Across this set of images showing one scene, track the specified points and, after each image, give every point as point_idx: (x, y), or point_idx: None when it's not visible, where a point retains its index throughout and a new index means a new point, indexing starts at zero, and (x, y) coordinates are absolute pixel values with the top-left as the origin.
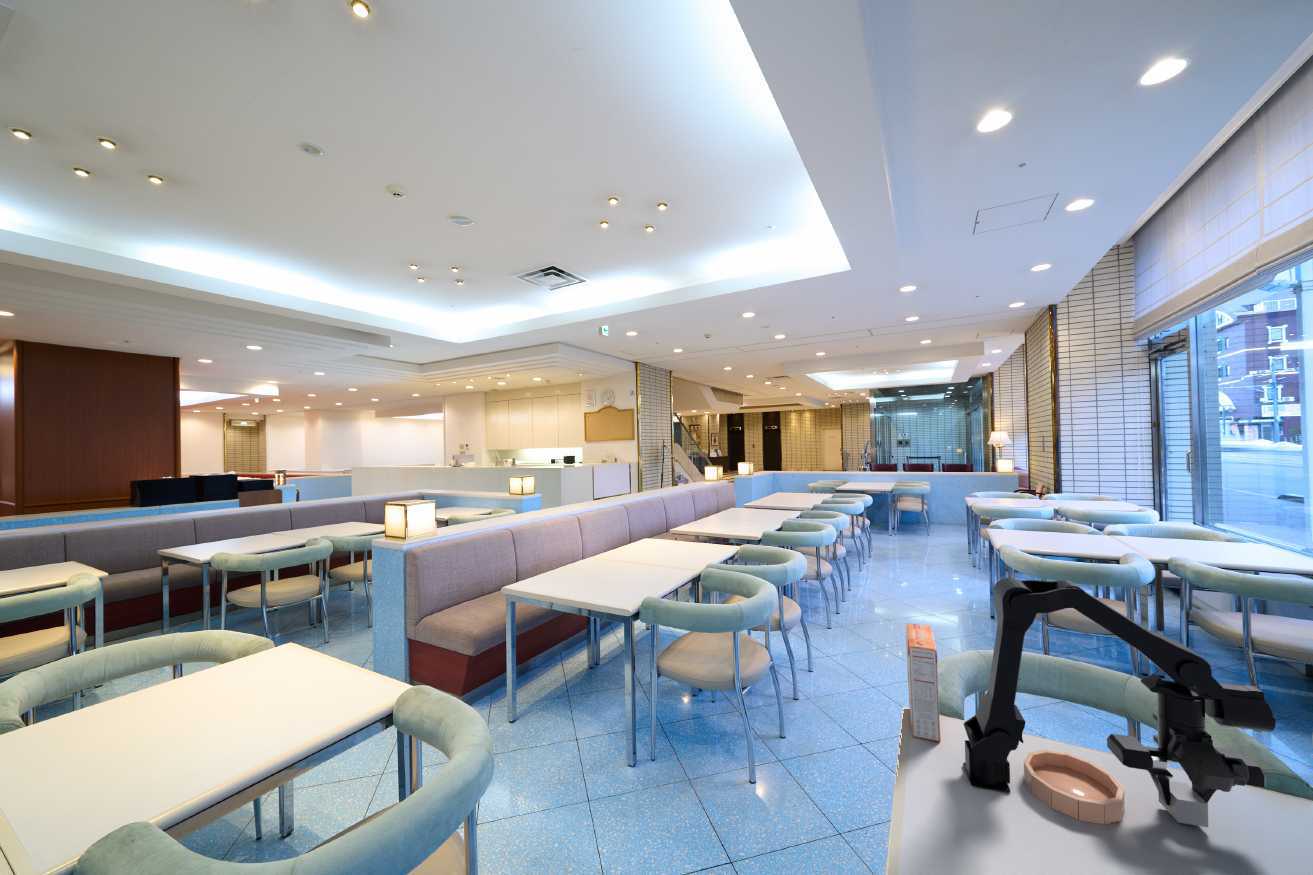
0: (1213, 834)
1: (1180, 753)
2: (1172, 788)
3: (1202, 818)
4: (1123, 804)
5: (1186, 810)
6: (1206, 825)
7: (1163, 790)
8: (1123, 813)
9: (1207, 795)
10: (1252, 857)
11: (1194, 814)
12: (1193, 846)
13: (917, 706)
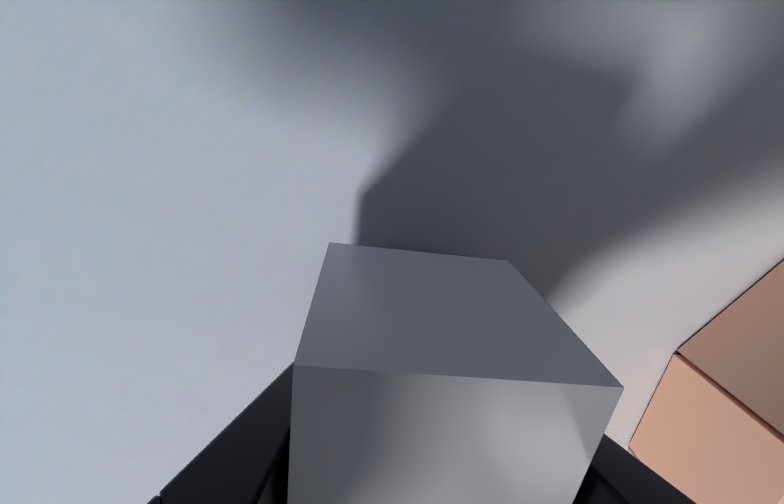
0: (311, 217)
1: None
2: None
3: (363, 271)
4: (772, 349)
5: (484, 309)
6: (338, 248)
7: (672, 488)
8: (730, 308)
9: (208, 497)
10: (189, 7)
11: (423, 287)
12: (546, 69)
13: None
